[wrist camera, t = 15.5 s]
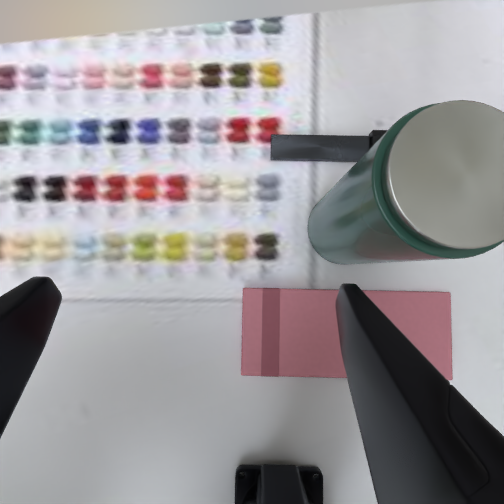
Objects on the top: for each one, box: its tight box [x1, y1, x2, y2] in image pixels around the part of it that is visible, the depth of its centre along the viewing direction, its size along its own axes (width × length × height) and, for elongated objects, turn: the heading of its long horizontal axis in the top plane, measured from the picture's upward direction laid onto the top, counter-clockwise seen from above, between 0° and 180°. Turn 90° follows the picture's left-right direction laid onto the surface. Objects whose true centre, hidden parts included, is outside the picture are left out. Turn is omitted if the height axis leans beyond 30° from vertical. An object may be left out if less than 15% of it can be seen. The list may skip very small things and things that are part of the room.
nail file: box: [271, 130, 388, 162], centre depth 23 cm, size 3×12×1 cm, turn 89°
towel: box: [241, 288, 452, 380], centre depth 22 cm, size 7×16×1 cm, turn 89°
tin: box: [308, 100, 504, 264], centre depth 16 cm, size 6×6×13 cm
